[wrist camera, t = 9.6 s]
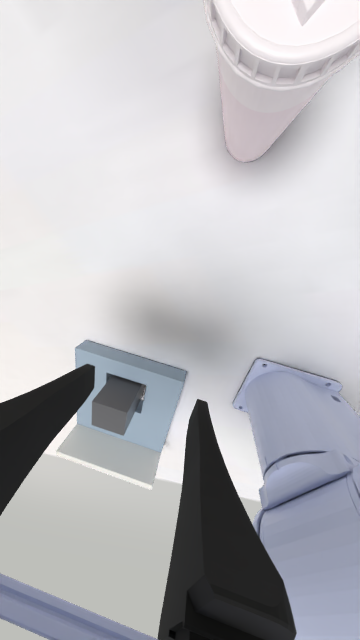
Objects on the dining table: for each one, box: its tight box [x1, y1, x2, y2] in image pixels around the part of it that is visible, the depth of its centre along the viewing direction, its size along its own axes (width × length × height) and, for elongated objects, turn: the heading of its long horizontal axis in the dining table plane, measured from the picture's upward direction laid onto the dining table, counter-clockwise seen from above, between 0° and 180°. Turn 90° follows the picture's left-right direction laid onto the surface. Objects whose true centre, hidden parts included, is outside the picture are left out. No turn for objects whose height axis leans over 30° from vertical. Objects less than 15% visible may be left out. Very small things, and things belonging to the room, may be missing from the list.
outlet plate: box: [56, 340, 186, 490], centre depth 23 cm, size 14×16×6 cm
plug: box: [91, 375, 145, 436], centre depth 22 cm, size 4×4×6 cm
